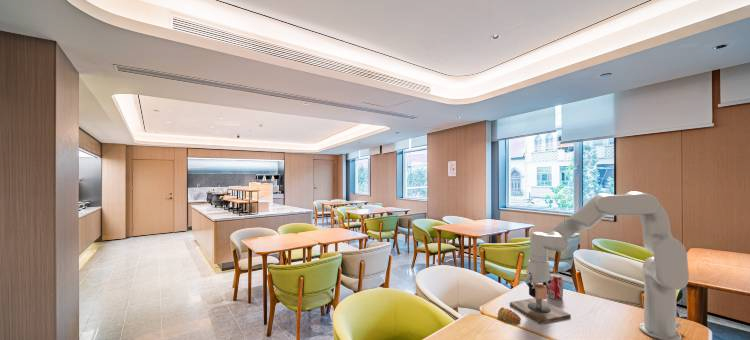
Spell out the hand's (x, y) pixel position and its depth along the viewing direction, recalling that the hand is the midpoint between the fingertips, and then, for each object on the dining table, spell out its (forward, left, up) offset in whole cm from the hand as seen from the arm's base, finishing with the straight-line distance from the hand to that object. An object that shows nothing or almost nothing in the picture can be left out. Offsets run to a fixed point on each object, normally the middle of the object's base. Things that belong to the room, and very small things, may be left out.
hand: (538, 294), depth 139 cm
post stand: (0, 0, -8) cm, 8 cm away
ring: (0, 0, -1) cm, 1 cm away
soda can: (-20, -9, -8) cm, 24 cm away
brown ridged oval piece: (+18, +1, -9) cm, 20 cm away
